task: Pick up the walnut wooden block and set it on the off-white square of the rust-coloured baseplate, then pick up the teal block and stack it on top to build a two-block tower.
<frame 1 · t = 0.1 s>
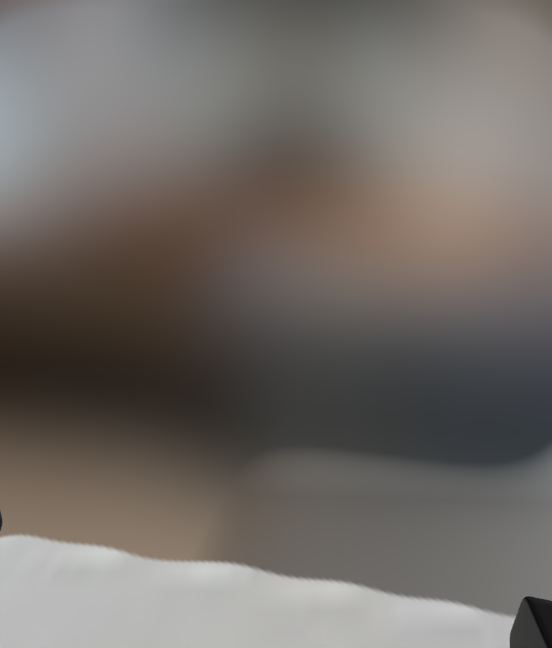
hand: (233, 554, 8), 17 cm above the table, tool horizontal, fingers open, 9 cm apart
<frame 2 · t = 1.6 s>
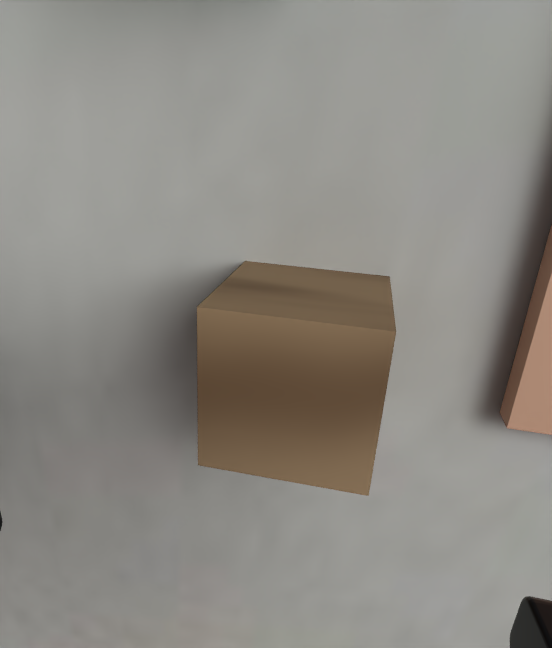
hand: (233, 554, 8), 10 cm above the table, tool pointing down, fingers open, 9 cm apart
walnut block: (309, 334, 17), on the table
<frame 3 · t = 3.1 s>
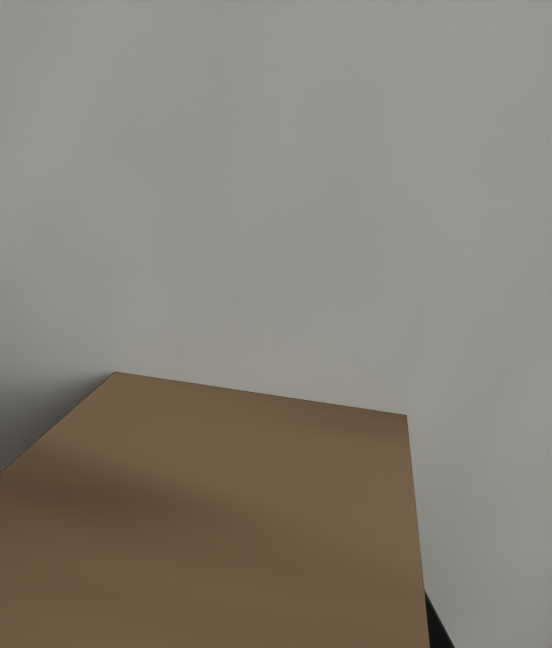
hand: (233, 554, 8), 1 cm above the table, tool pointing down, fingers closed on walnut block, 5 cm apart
walnut block: (249, 508, 9), on the table, touching gripper
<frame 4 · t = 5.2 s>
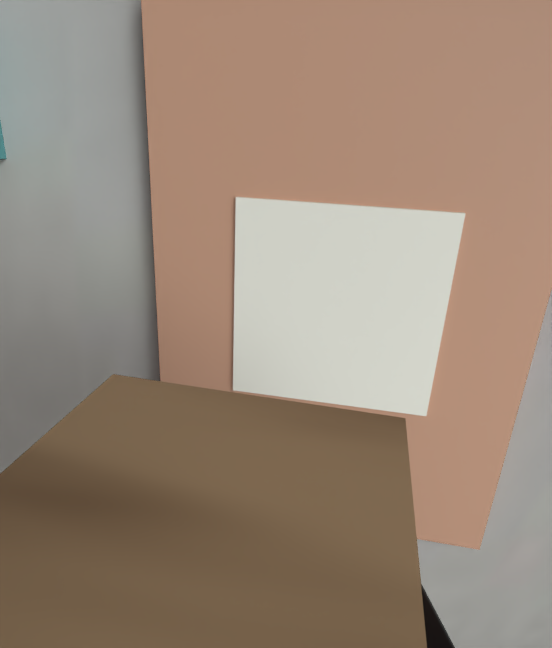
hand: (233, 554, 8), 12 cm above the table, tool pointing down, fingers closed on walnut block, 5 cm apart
walnut block: (247, 511, 9), point 11 cm above the table, touching gripper
baseplate: (337, 301, 18), on the table
when the fingers open (3 cm above the table, at t = 7.2 s): walnut block drops 1 cm, resting on baseplate.
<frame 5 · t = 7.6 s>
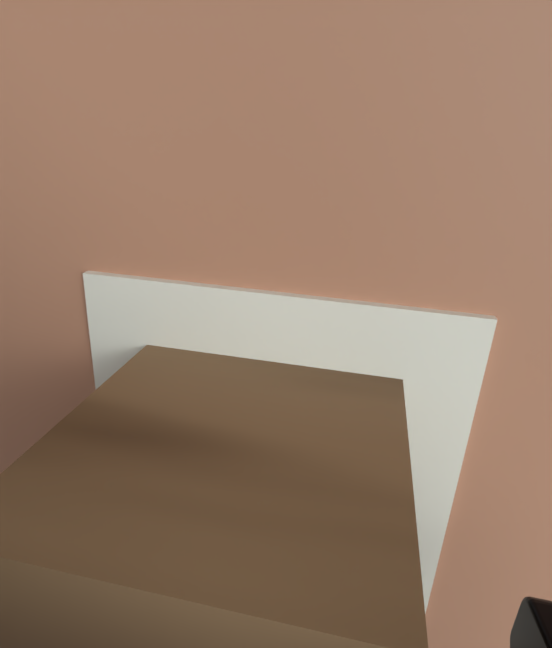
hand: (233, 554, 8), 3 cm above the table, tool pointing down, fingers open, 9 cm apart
walnut block: (263, 467, 10), point 1 cm above the table, touching baseplate
baseplate: (277, 433, 11), on the table
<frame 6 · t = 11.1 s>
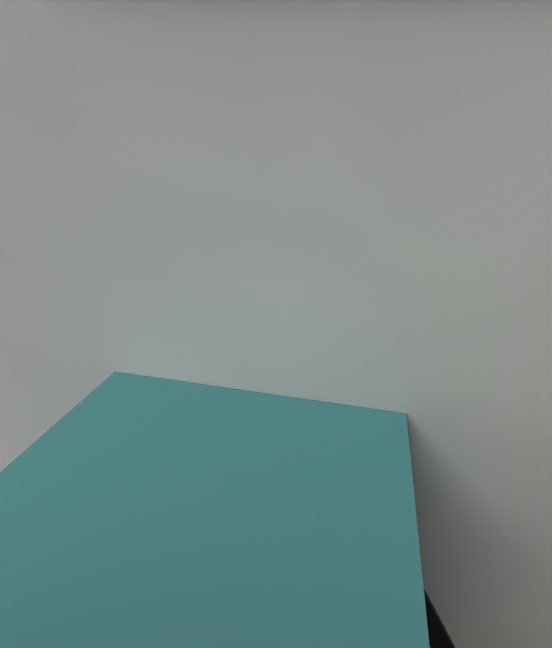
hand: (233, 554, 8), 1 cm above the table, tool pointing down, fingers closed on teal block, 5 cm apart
teal block: (249, 508, 9), on the table, touching gripper
when the fingers open (8 cm above the table, at t = 14.6 s): teal block drops 1 cm, resting on walnut block.
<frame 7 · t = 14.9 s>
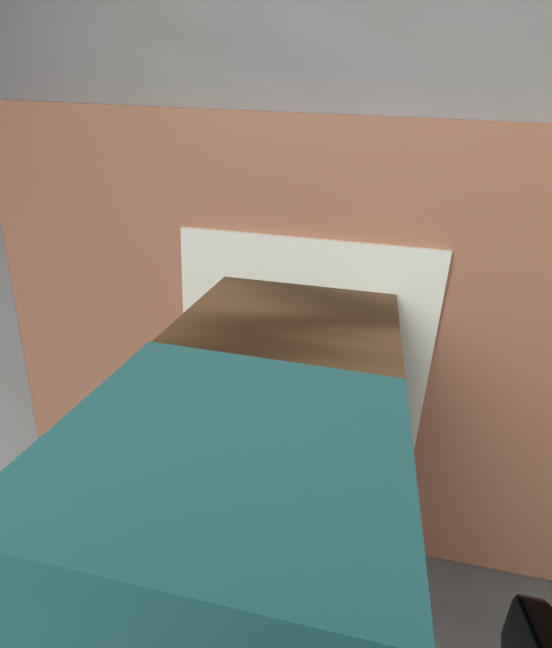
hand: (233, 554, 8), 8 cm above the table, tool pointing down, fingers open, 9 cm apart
walnut block: (301, 362, 14), point 1 cm above the table, touching baseplate, teal block
teal block: (265, 465, 10), point 6 cm above the table, touching walnut block
baseplate: (306, 345, 15), on the table
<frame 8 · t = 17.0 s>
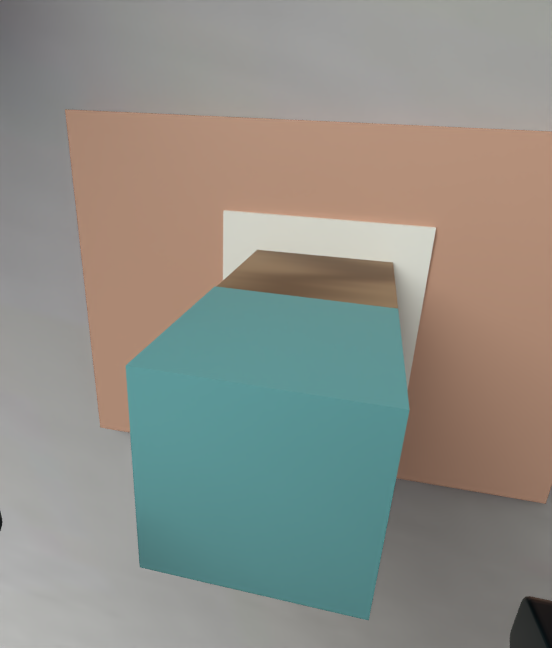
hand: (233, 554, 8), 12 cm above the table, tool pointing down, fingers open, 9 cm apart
walnut block: (317, 319, 18), point 1 cm above the table, touching baseplate, teal block
teal block: (296, 378, 14), point 6 cm above the table, touching walnut block
baseplate: (320, 308, 19), on the table
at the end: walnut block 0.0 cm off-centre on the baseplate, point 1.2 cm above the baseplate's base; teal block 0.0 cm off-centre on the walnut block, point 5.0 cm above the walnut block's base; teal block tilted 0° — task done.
